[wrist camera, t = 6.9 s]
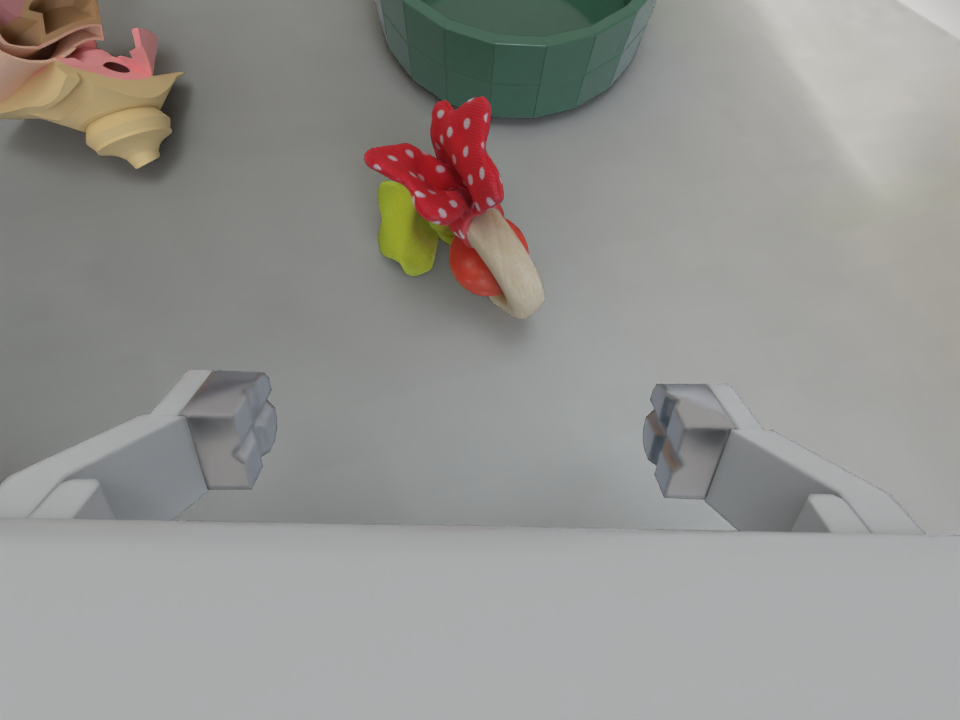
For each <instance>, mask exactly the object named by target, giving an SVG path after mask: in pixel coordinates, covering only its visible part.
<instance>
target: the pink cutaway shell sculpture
mask: <svg viewBox="0 0 960 720" xmlns="http://www.w3.org/2000/svg"><path fill="white" fill-rule="evenodd" d="M132 33H133V38H134V42H135V47H136V48H135V49H133V50H131V51H130V54H131V56H132V58H128V57H125V56H121V55H120V56H118V57H113V56H111V55H110V54H109V53H108V52H107V51H104V50H101V49H97V48H96V46H97V43H96V42H95V41H94V40H102V41H104V35H103V29H102V23H101V18H100V12H99V6H98V2H97V0H0V119H44V120H47V121H50V122H53V123H57V124H60V125H63V126H66V127H69V128H72V129H75V130H79V131H82V132H86V145H88V146H89V147H90V148H92V149H93V150H95V151H96V152H97V154H98V155H100V156H117V157H121V158H123V159H125V160H127V161H128V162H129V163H130V164H131V165H133V167H134V168H135V169H138V168H140V167H142V166H144V165H145V164H147V163H149V162H151V161H153V160H155V159H156V158H158V157H160V154H159V147H160V144H161V142H162V141H163V140H164V139H165V138H166V137H167V136H169V135H170V134H171V133H172V130H171V128H170V118H169V117H168V116H167V115H166V114H164V113H163V112H162V111H160V109H161V107H162V105H163V103H164V101H165V99H166V97H167V95H168V93H169V91H170V89H171V87H172V85H173V83H174V81H175V80H176V79H178V78H179V77H180V76H182V75H183V74H184V73H185V72H176V73H169V74H163V75H157V76H153V73H154V65H155V57H156V50H157V43H158V40H157V37H156V36H155V34H153V33H152V32H150V31H148V30H145V29H141V28H135V29H132Z"/></svg>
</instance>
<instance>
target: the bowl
mask: <svg viewBox="0 0 960 720" xmlns="http://www.w3.org/2000/svg"><path fill="white" fill-rule="evenodd" d="M655 3H656V0H376V5H377V11H378V16H379V19H380V23H381V26H382V29H383V32H384V35H385V39H386V42H387V45H388V48H389V50H390V51H391V52H392V53H393V55H394V56H395V57H396V59H397V60H398V61H399V63H400V64H401V65H402V66H403V68H404V69H405V70H406V72H407V73H408V74H409V75H410V77H411V78H412V79H413V80H414V81H415V82H416V83H418V84H419V85H421V86H422V87H424V88H425V89H427V90H428V91H430V92H431V93H433V94H434V95H435V96H437V97H438V98H440V99H441V100H447V101H448V102H449V103H450V104H451V105H454V106H457V107H460V106H461V105H463V104H464V103H465V102H466V101H468V100H470V99H472V98H475V97H481V96H483V97H485V98H487V100H488V101H489V103H490V105H491V117H509V118H538V117H542V116H546V115H550V114H554V113H558V112H563V111H567V110H571V109H574V108H577V107H578V106H580V105H582V104H583V103H585V102H587V101H588V100H590V99H592V98H593V97H595V96H597V95H599V94H600V93H602V92H604V91H605V90H607V89H608V88H609V87H610V86H611V85H612V84H613V83H614V82H615V80H616V79H617V78H618V77H619V76H620V74H621V73H622V72H623V71H624V70H625V68H626V67H627V66H628V65H629V64H630V62H631V61H632V60H633V58H634V56H635V53H636V50H637V48H638V45H639V43H640V40H641V38H642V35H643V33H644V30H645V28H646V25H647V23H648V20H649V18H650V15H651V13H652V10H653V8H654V5H655Z"/></svg>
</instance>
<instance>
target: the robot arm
mask: <svg viewBox="0 0 960 720" xmlns="http://www.w3.org/2000/svg"><path fill="white" fill-rule="evenodd" d="M271 390H272V389H271V385H270V381H269V377H268V376H267V375H266V374H265V373H264V372H243V371H222V370H217V371H215V370H189V371H186V372H185V373H184V375H183V376H182V377H181V378H180V379H179V380H178V382H177V383H176V384H175V385H174V386H173V388H172V389H171V390H170V391H169V392H168V393H167V395H166V396H165V397H164V398H163V399H162V400H161V402H160V403H159V404H158V405H157V406H156V407H155V409H154V410H153V411H152V412H151V413H150V414H149V415H140V416H138V417H135V418H133V419H131V420H129V421H127V422H124V423H122V424H120V425H118V426H116V427H114V428H111V429H109V430H107V431H105V432H103V433H101V434H98V435H96V436H94V437H92V438H90V439H88V440H85V441H83V442H81V443H79V444H77V445H74V446H72V447H70V448H68V449H66V450H64V451H61V452H59V453H57V454H55V455H53V456H51V457H48V458H46V459H44V460H42V461H40V462H38V463H35V464H33V465H31V466H29V467H27V468H24V469H22V470H20V471H18V472H16V473H14V474H11V475H9V476H8V477H7V478H6V479H5V480H4V481H3V482H2V483H1V484H0V720H960V535H933V534H926V533H925V532H924V531H923V530H922V529H921V527H920V526H919V525H918V524H917V523H916V522H915V521H914V520H913V519H912V517H911V516H910V515H909V514H908V513H907V512H906V511H905V510H904V509H903V508H902V506H901V505H900V504H899V503H898V502H897V501H896V500H895V499H894V498H893V497H892V495H891V494H889V493H887V492H885V491H883V490H882V489H880V488H878V487H876V486H874V485H872V484H871V483H869V482H867V481H865V480H863V479H861V478H859V477H858V476H856V475H854V474H852V473H850V472H848V471H846V470H845V469H843V468H841V467H839V466H837V465H835V464H834V463H832V462H830V461H828V460H826V459H824V458H822V457H821V456H819V455H817V454H815V453H813V452H811V451H809V450H808V449H806V448H804V447H802V446H800V445H798V444H797V443H795V442H793V441H791V440H789V439H787V438H785V437H784V436H782V435H780V434H778V433H776V432H774V431H773V430H764V428H763V427H762V426H761V424H760V423H759V422H758V420H757V419H756V418H755V416H754V415H753V414H752V412H751V411H750V410H749V408H748V407H747V406H746V404H745V403H744V402H743V400H742V399H741V398H740V396H739V395H738V394H737V392H736V391H735V390H734V388H733V387H732V386H730V385H728V384H656V386H655V387H654V389H653V392H652V395H651V399H650V401H651V403H652V405H653V407H654V410H653V411H652V412H651V413H650V414H649V415H648V416H646V419H645V424H644V428H643V444H644V449H645V453H646V455H647V458H648V460H649V461H651V462H652V463H653V464H655V465H656V466H657V467H656V471H655V474H654V475H655V477H656V480H657V482H658V484H659V487H660V489H661V491H662V494H663V496H664V498H679V499H701V500H705V502H706V503H707V504H708V505H710V506H711V507H712V508H713V509H714V510H715V511H716V512H718V513H719V514H720V515H721V516H722V517H723V518H724V519H725V520H727V521H728V522H729V523H730V524H731V525H732V526H733V527H734V528H736V529H737V530H738V531H715V530H659V529H603V528H547V527H492V526H437V525H383V524H328V523H273V522H219V521H172V520H173V519H174V518H175V517H177V516H178V515H179V514H181V513H182V512H183V511H184V510H186V509H187V508H188V507H189V506H191V505H192V504H193V503H195V502H196V501H197V500H198V499H200V498H201V497H202V496H203V495H205V494H206V493H207V492H208V490H245V489H252V488H253V486H254V484H255V482H256V480H257V477H258V475H259V473H260V471H261V469H262V467H263V464H262V459H261V457H262V456H264V455H265V454H267V453H268V452H270V451H271V448H272V446H273V444H274V442H275V437H276V431H277V416H276V410H275V407H274V406H273V405H272V404H271V403H270V402H269V401H268V400H267V398H268V396H269V394H270V392H271Z"/></svg>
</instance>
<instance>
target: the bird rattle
mask: <svg viewBox="0 0 960 720" xmlns="http://www.w3.org/2000/svg"><path fill="white" fill-rule="evenodd" d="M490 123H491V105H490V103H489V101H488V100H487V98H485V97H483V96H481V97H475V98H472V99H470V100H468V101H466V102H465V103H464V104H463V105H461V106H460V107H459V108H458V109H456V110H455V111H454V108H453V107H452V105H451V104H450V103H449V102H448V101H447V100H443V101H439V102H437V103H436V104H435V106H434V108H433V111H432V120H431V129H430V135H431V141H432V144H433V147H434V150H435V154H436V158H437V159H436V158H435V157H433V156H431V155H430V154H428V153H426V152H423V151H421V150H420V149H418V148H416V147H415V146H413V145H410V144H408V143H403V144H398V145H389V146H382V147H376V148H371V149H370V150H368V151H367V152H366V153H365V156H364V160H365V163H366V164H367V166H368V167H370V168H371V169H373V170H375V171H377V172H379V173H381V174H383V175H384V176H386V177H388V178H389V179H391V180H393V181H395V182H393V181H389V180H387V181H384V182H382V183H381V184H380V186H379V189H378V204H379V209H380V212H381V217H382V222H381V225H380V229H379V233H378V243H379V247H380V252H381V254H382V255H384V256H385V257H387V258H391V259H393V260H395V261H397V262H399V263H400V264H401V266H402V268H403V270H404V272H405V273H406V274H408V275H411V276H417V275H421V274H423V273H426V272H428V271H429V270H431V269H432V266H433V262H434V259H435V255H436V251H437V245H438V241H439V238H441V239H442V240H443V241H444V242H446V243H448V244H449V245H450V249H449V264H450V268H451V271H452V273H453V275H454V277H455V278H456V280H457V281H458V282H459V284H460V285H461V286H462V287H464V288H465V289H466V290H468V291H470V292H472V293H473V294H476V295H480V296H488V297H489V299H490V300H491V301H492V302H493V303H494V304H495V305H497V306H499V307H500V308H501V309H503V310H504V311H505V312H506V313H508V314H509V315H511V316H513V317H515V318H520V319H523V318H527V317H529V316H531V315H532V314H534V313H535V312H536V311H537V310H538V309H539V308H540V307H541V306H542V305H543V303H544V300H545V293H544V287H543V284H542V281H541V278H540V276H539V273H538V271H537V269H536V267H535V265H534V263H533V262H532V260H531V258H530V256H529V252H528V246H527V242H526V240H525V238H524V236H523V234H522V232H521V231H520V230H519V228H518V227H517V226H516V225H514V224H513V223H512V222H511V221H509V220H507V219H505V218H504V212H503V210H502V207H501V206H500V204H499V203H500V202H502V200H503V199H504V192H503V185H502V179H501V176H500V174H499V172H498V170H497V168H496V166H495V165H494V163H493V161H492V160H491V158H490V157H489V156H488V154H487V152H486V141H487V136H488V133H489V129H490Z"/></svg>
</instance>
